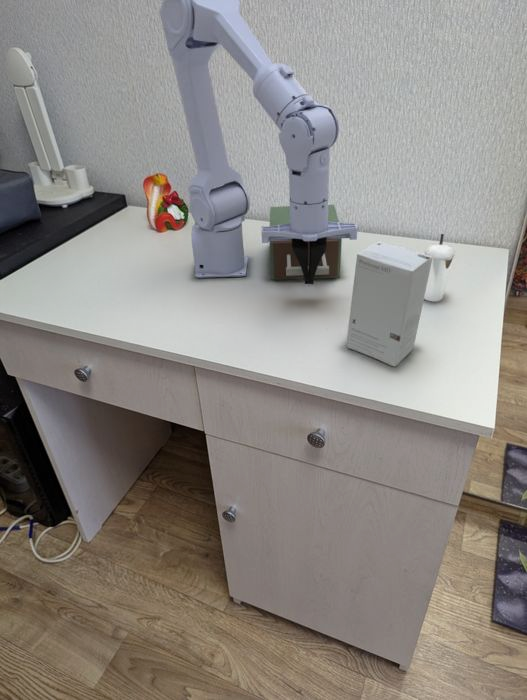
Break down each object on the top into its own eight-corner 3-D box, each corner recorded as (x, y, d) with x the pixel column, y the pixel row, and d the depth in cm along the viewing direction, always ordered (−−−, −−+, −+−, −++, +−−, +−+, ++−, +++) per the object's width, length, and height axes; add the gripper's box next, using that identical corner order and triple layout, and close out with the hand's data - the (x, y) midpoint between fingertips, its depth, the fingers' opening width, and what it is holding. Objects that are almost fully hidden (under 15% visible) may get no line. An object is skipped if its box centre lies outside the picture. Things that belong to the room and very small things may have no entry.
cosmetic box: (345, 348, 72) (351, 253, 63) (366, 330, 75) (375, 238, 67) (398, 369, 67) (412, 270, 59) (418, 348, 71) (434, 252, 62)
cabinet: (339, 277, 90) (342, 232, 85) (271, 279, 90) (269, 235, 86) (332, 245, 102) (334, 204, 97) (271, 247, 102) (270, 206, 97)
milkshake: (447, 290, 84) (457, 234, 79) (445, 305, 80) (456, 248, 74) (419, 287, 86) (428, 232, 80) (416, 301, 82) (425, 245, 76)
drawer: (341, 294, 83) (343, 257, 79) (273, 296, 84) (272, 259, 80) (330, 245, 99) (332, 213, 96) (274, 247, 100) (273, 215, 96)
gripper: (258, 209, 70) (263, 294, 77) (362, 205, 69) (356, 291, 77) (260, 194, 76) (264, 274, 83) (355, 190, 75) (351, 271, 82)
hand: (308, 281), depth 80 cm, fingers closed, pressing on drawer
